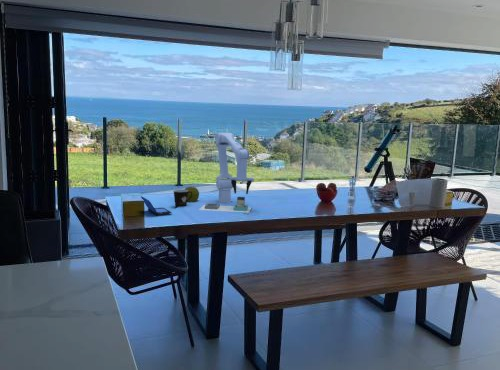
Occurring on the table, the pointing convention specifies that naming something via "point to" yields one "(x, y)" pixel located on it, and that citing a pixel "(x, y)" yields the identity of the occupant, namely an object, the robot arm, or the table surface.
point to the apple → (194, 194)
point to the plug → (241, 202)
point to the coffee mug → (181, 197)
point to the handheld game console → (155, 209)
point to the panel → (226, 208)
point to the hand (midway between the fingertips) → (241, 193)
